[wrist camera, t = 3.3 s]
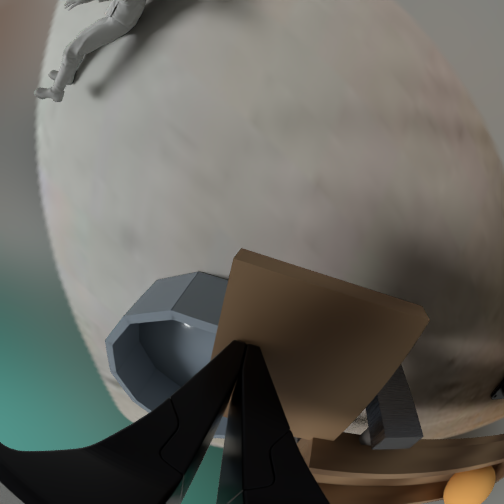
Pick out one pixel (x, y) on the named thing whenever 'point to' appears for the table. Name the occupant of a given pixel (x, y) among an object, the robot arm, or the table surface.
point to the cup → (167, 338)
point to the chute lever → (341, 378)
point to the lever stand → (393, 416)
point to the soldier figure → (92, 41)
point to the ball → (470, 486)
